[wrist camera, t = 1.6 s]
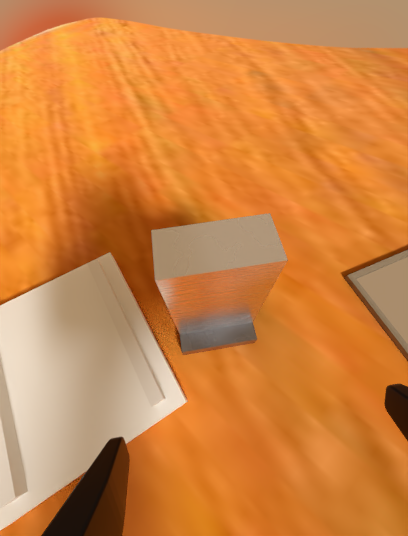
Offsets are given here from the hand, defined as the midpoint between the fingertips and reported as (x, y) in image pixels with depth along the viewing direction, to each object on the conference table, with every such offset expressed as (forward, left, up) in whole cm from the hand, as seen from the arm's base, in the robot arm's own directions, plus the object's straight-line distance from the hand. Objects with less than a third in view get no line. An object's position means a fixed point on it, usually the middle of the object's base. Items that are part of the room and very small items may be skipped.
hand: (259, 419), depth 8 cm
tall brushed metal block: (+7, +2, -13) cm, 15 cm away
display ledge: (+2, +14, -13) cm, 19 cm away
